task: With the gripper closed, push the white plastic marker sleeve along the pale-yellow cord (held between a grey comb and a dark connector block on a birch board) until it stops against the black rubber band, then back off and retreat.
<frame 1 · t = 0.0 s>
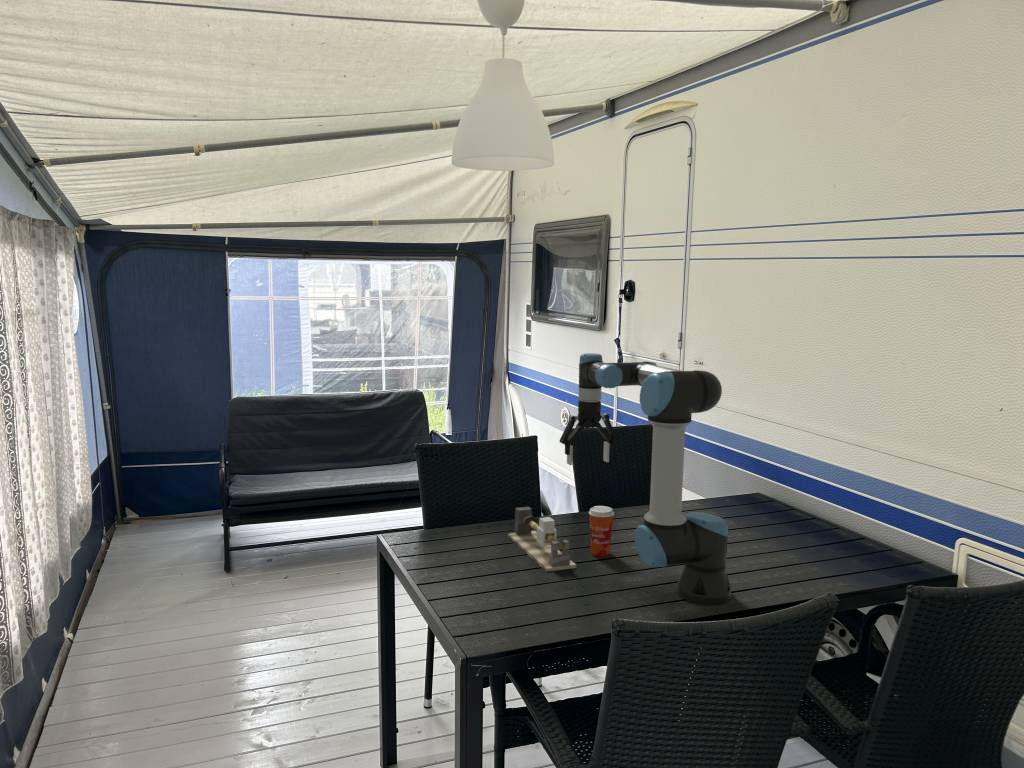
hand: (587, 462, 257), 28 cm above the table, fingers open, 13 cm apart
marker sleeve: (546, 531, 247), point 9 cm above the table, slide at 0.0 cm
cord rig: (540, 551, 253), on the table
coffee cup: (600, 553, 252), on the table
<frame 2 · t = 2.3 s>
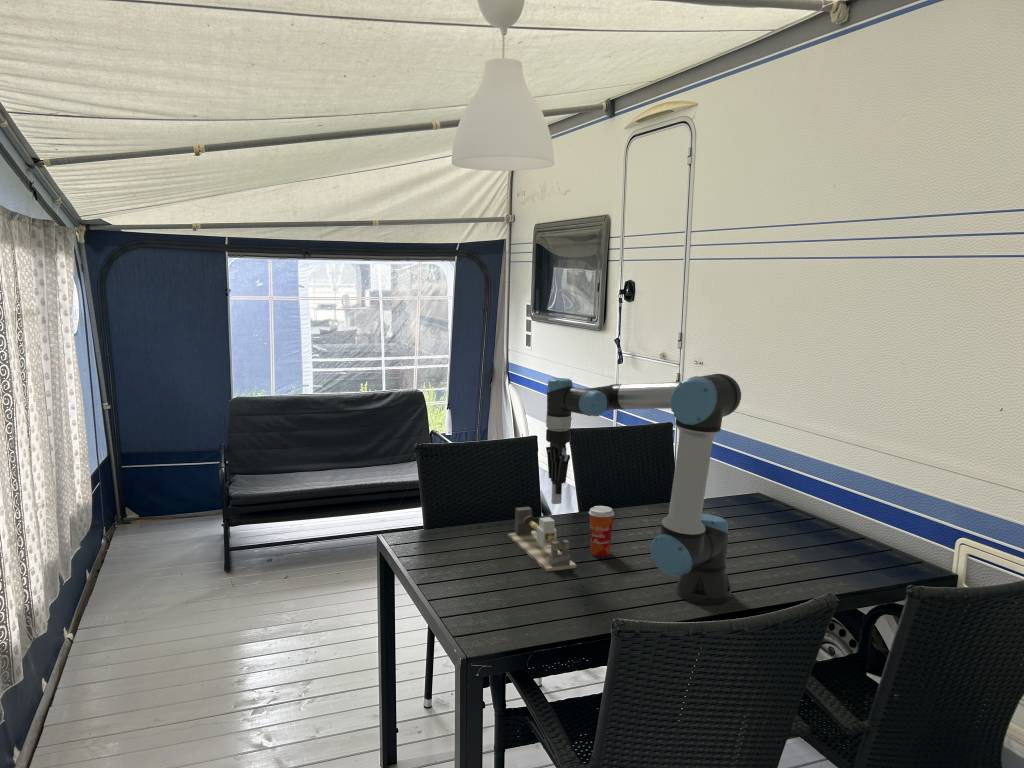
hand: (556, 503, 238), 20 cm above the table, fingers closed
nothing on the table moved.
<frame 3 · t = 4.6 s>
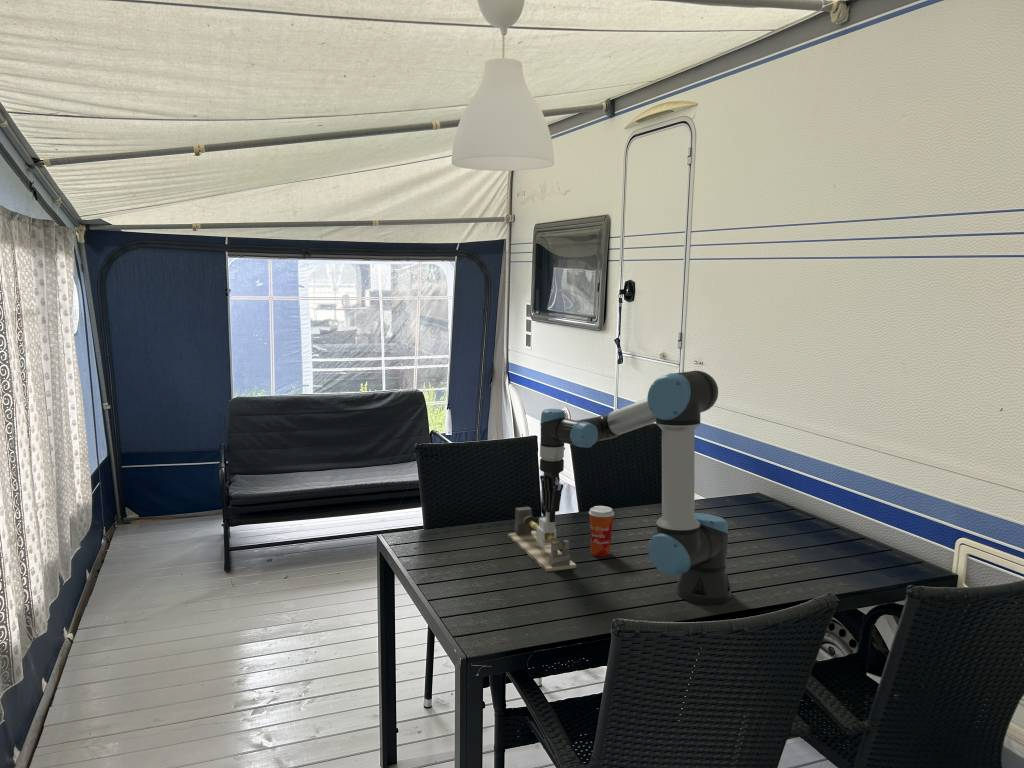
hand: (550, 530, 244), 10 cm above the table, fingers closed
marker sleeve: (546, 530, 247), point 9 cm above the table, slide at 0.3 cm, touching gripper
everything else where it was.
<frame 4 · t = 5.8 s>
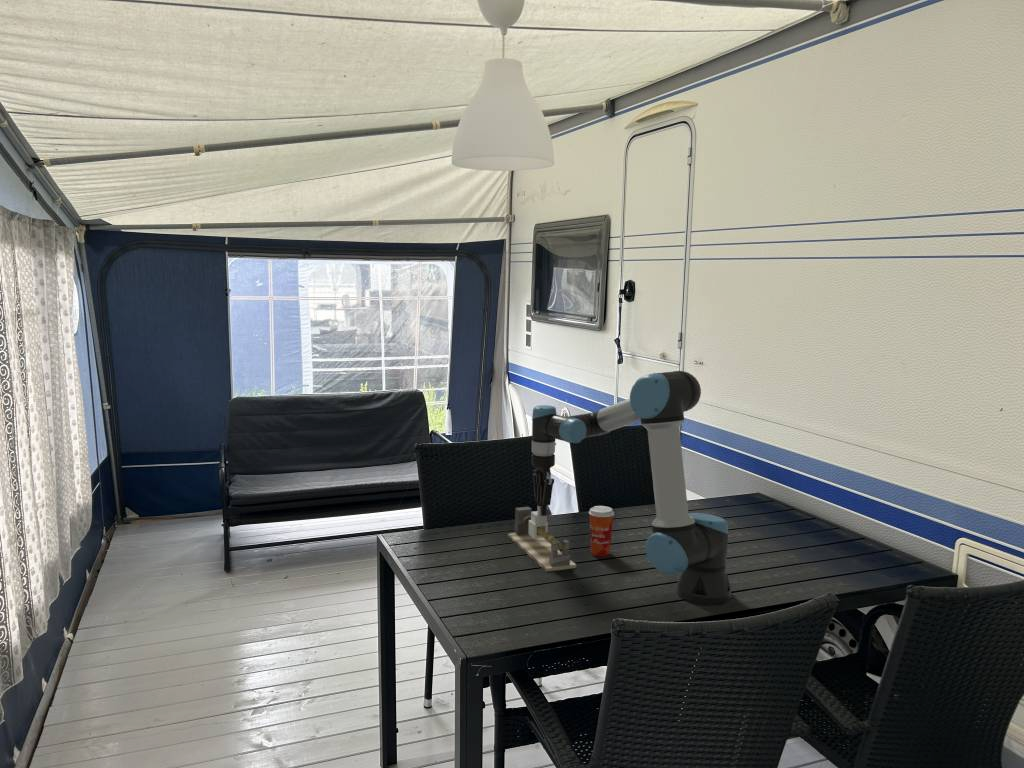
hand: (541, 524, 250), 10 cm above the table, fingers closed
marker sleeve: (538, 524, 253), point 9 cm above the table, slide at 7.2 cm, touching gripper
everything else where it was.
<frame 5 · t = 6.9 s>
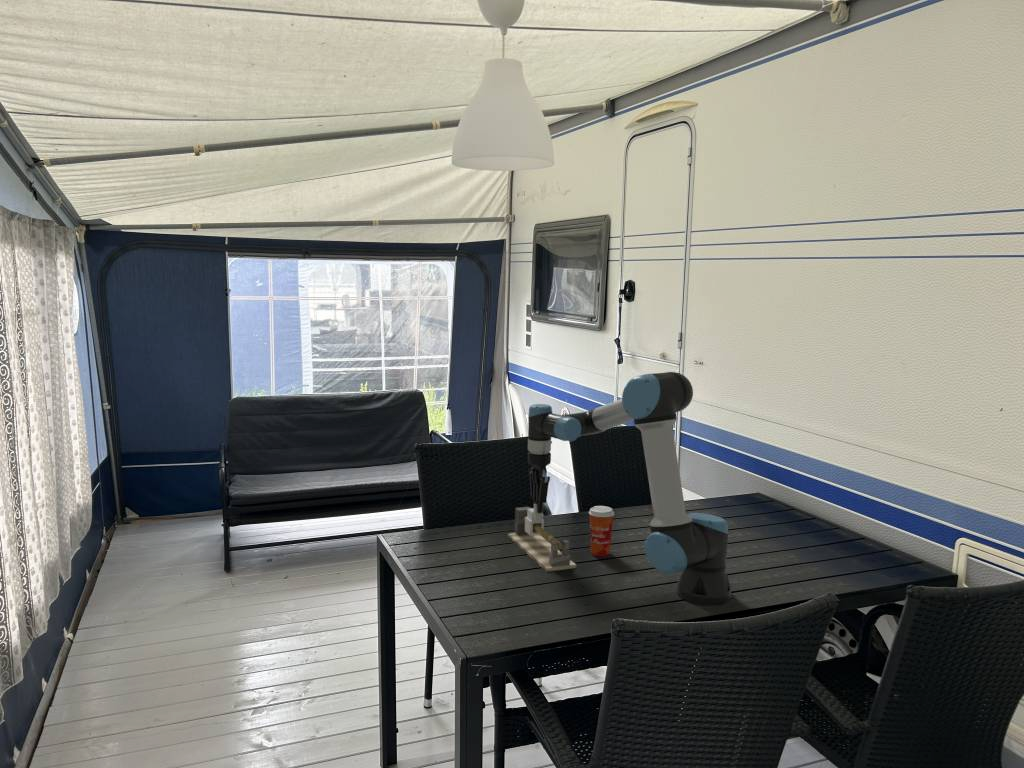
hand: (538, 521, 253), 9 cm above the table, fingers closed
marker sleeve: (534, 521, 257), point 9 cm above the table, slide at 10.5 cm, touching gripper
everything else where it was.
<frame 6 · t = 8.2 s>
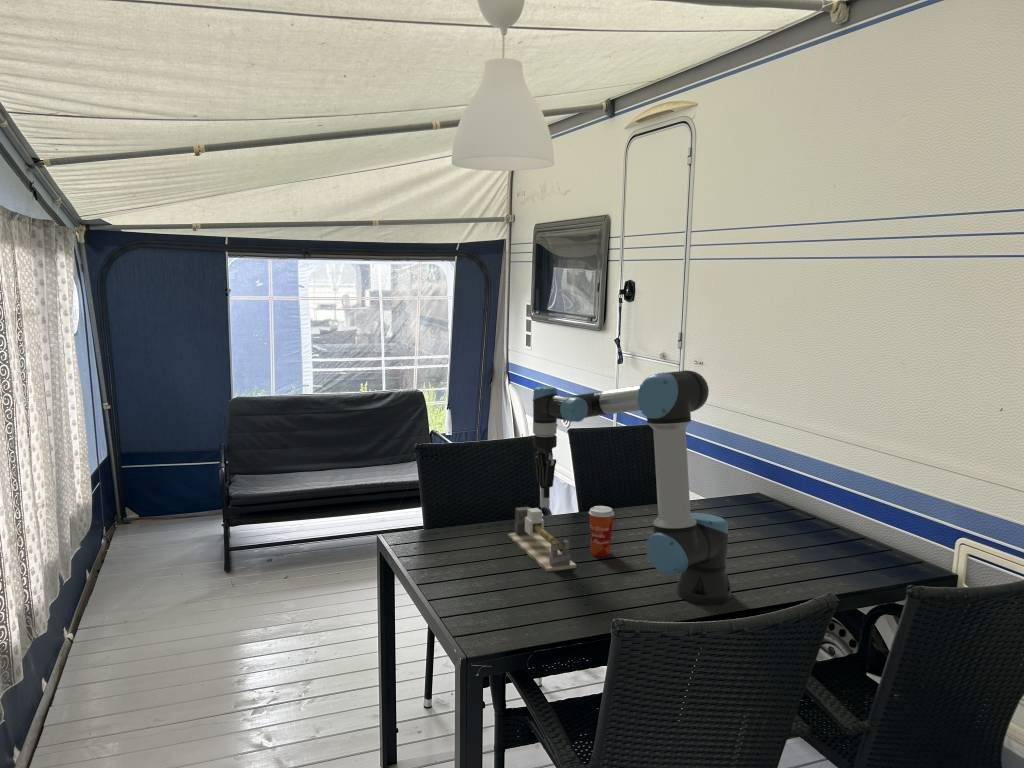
hand: (544, 506, 248), 16 cm above the table, fingers closed
marker sleeve: (534, 521, 257), point 9 cm above the table, slide at 10.5 cm
everything else where it was.
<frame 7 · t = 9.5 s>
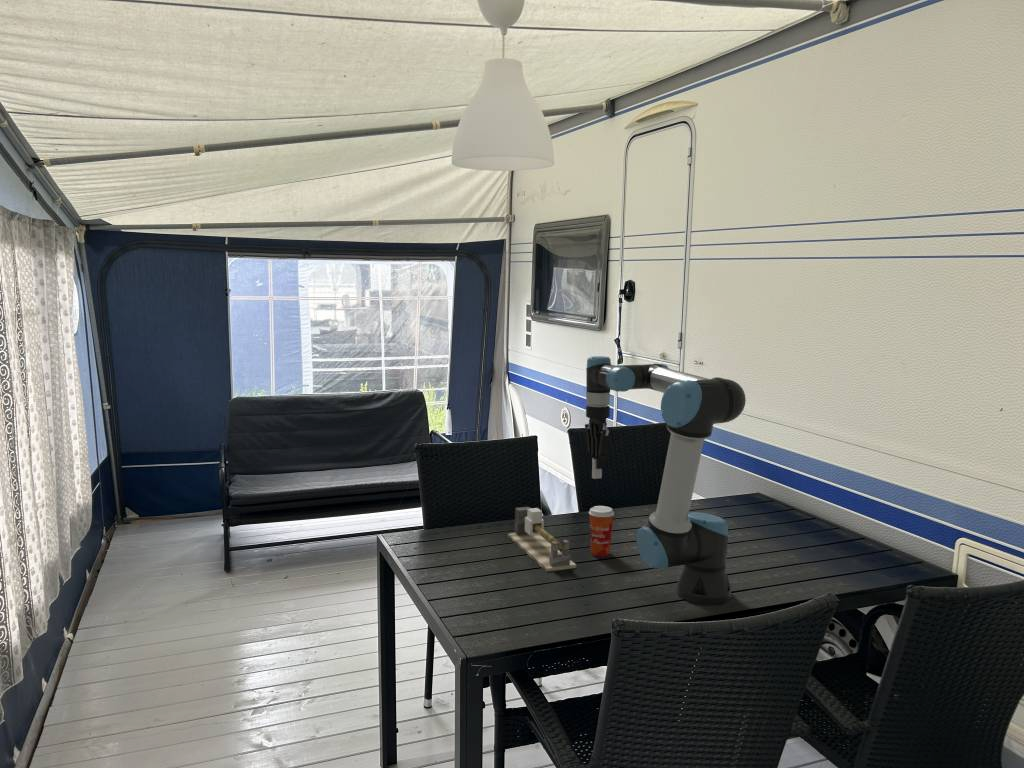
hand: (596, 477, 246), 26 cm above the table, fingers closed
nothing on the table moved.
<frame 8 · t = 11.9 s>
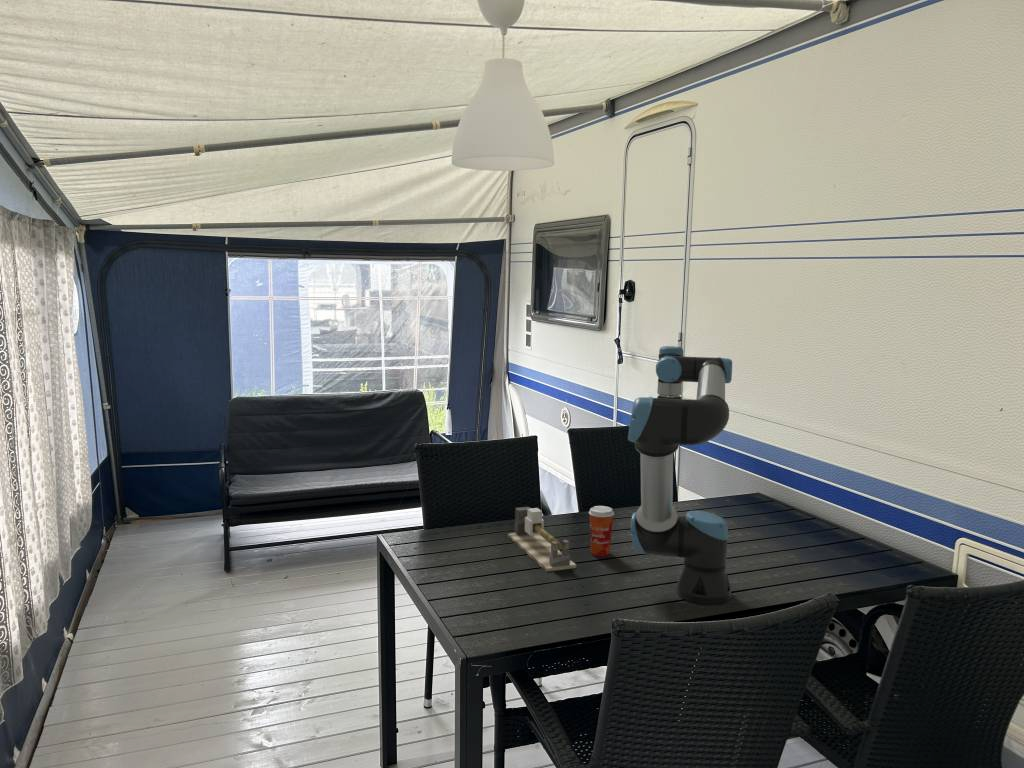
hand: (666, 468, 245), 29 cm above the table, fingers closed
nothing on the table moved.
at the end: marker sleeve slide at 10.5 cm; the gripper is holding nothing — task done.
